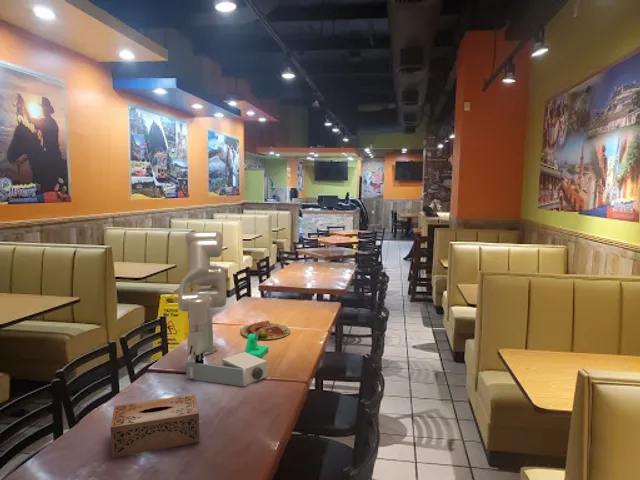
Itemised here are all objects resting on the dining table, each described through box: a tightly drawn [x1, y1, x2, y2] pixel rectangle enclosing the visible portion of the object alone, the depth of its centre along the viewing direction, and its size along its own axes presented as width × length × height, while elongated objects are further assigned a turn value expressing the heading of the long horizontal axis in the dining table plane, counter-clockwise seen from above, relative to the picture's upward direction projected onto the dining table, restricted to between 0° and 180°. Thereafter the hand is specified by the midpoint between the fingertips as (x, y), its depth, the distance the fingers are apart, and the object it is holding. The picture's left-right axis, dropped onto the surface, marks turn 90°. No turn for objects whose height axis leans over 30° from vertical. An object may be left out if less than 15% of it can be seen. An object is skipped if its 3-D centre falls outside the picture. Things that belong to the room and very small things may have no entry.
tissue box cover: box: [109, 393, 201, 459], centre depth 148 cm, size 26×14×10 cm, turn 110°
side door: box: [185, 361, 247, 387], centre depth 190 cm, size 28×2×7 cm, turn 73°
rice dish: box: [239, 320, 291, 340], centre depth 256 cm, size 28×28×5 cm
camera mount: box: [244, 334, 269, 358], centre depth 222 cm, size 12×8×10 cm, turn 164°
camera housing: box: [221, 351, 268, 386], centre depth 197 cm, size 18×12×7 cm
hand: (199, 368), depth 195 cm, fingers closed
